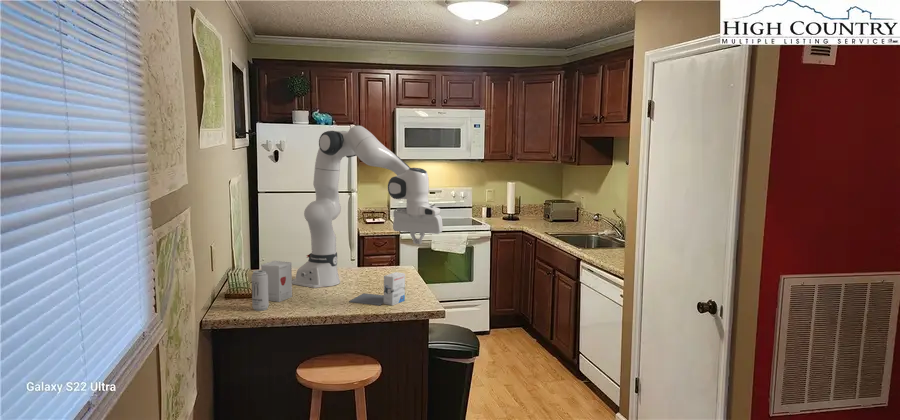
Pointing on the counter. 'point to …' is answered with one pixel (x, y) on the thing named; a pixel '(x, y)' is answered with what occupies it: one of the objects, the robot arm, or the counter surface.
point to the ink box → (394, 288)
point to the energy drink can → (260, 290)
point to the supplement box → (278, 280)
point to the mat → (369, 299)
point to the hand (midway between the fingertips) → (417, 243)
